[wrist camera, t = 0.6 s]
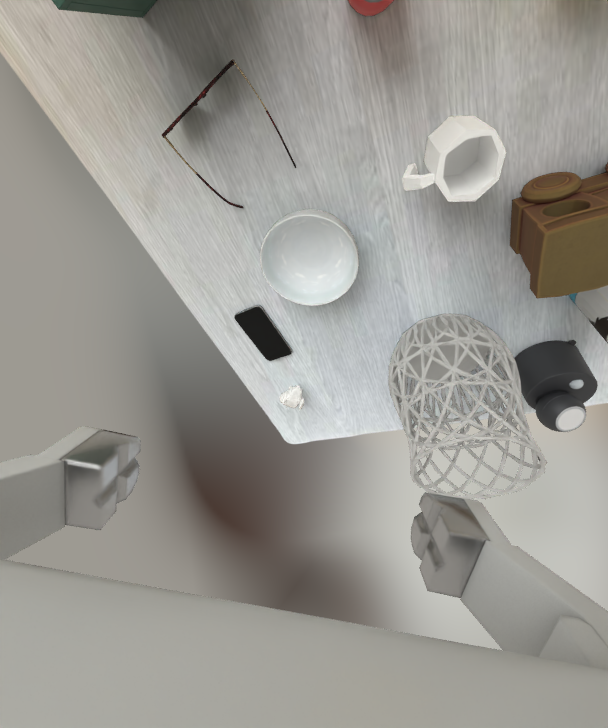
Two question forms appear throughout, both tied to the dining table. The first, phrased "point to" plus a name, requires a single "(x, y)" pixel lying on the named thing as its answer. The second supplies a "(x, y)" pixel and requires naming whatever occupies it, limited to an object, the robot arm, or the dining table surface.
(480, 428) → the vase
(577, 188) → the wooden toy train
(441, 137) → the mug
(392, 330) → the dining table surface
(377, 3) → the beer can
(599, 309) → the cup
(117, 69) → the dining table surface
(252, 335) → the smartphone
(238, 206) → the sunglasses
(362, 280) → the dining table surface
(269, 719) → the robot arm
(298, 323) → the dining table surface
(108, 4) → the cupboard
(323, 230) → the cereal bowl
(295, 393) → the elephant figurine
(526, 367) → the light fixture
